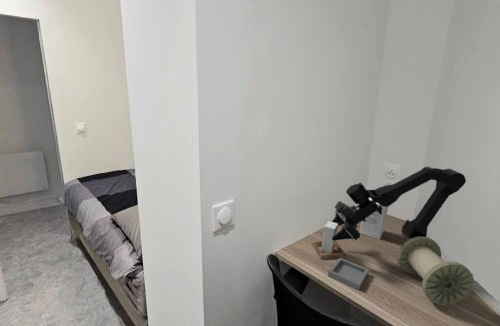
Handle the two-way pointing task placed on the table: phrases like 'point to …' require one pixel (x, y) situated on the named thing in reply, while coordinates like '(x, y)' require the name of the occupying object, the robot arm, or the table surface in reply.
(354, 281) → the cradle tray
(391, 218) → the table surface
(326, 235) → the skincare box
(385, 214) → the supplement box
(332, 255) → the open wooden picture frame
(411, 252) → the spool
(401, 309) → the table surface
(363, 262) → the table surface
